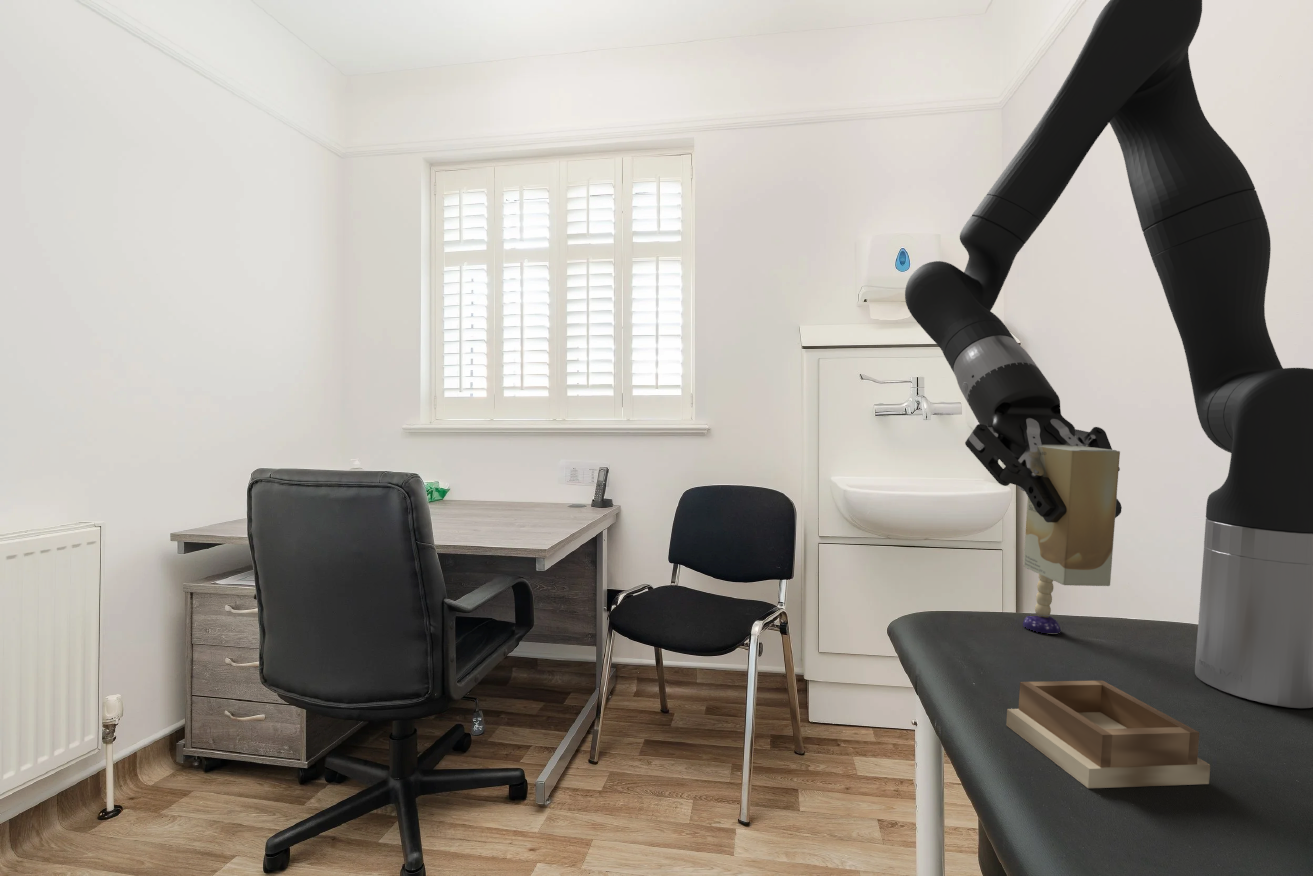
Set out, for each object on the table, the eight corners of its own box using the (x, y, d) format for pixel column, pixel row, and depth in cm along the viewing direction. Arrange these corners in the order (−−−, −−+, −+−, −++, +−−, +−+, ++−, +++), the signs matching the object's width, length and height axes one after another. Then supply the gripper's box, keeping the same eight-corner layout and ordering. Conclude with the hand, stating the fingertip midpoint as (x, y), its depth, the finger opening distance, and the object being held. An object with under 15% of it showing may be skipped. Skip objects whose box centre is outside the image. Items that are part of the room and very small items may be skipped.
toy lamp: (1053, 624, 81) (1061, 501, 80) (1074, 637, 76) (1082, 507, 76) (1016, 622, 81) (1023, 500, 81) (1034, 635, 77) (1042, 505, 76)
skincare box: (1021, 568, 59) (1026, 443, 59) (1065, 568, 59) (1070, 444, 59) (1065, 587, 53) (1072, 448, 52) (1115, 588, 53) (1122, 448, 52)
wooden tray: (1108, 722, 55) (1111, 679, 55) (1209, 784, 46) (1212, 732, 46) (1006, 725, 54) (1008, 681, 54) (1088, 788, 45) (1091, 736, 45)
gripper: (955, 358, 62) (1032, 491, 50) (1085, 362, 63) (1189, 493, 52) (925, 409, 67) (988, 540, 56) (1045, 412, 69) (1131, 541, 57)
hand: (1084, 517), depth 54 cm, fingers closed on skincare box, 4 cm apart
